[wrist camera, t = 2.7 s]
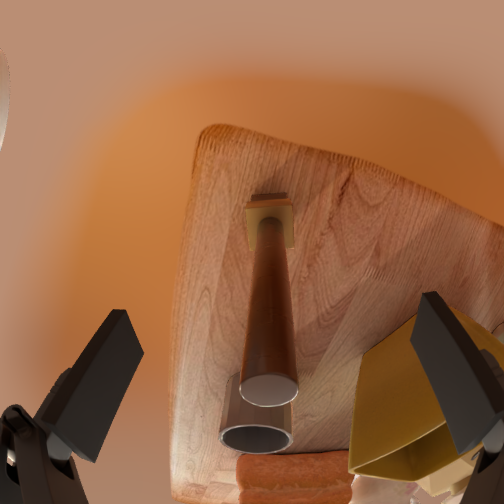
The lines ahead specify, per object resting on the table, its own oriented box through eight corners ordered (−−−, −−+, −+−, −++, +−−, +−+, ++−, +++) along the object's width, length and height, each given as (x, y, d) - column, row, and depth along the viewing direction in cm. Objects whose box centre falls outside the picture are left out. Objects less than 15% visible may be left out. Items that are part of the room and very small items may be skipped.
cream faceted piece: (385, 436, 45) (405, 546, 20) (448, 361, 35) (506, 502, 10) (427, 430, 45) (452, 527, 20) (488, 357, 35) (545, 471, 10)
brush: (253, 229, 28) (224, 417, 9) (249, 193, 26) (204, 356, 8) (290, 226, 27) (319, 415, 9) (288, 190, 26) (327, 351, 8)
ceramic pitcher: (431, 438, 50) (455, 510, 27) (399, 470, 57) (414, 532, 34) (360, 450, 50) (376, 537, 27) (336, 480, 57) (342, 550, 34)
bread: (344, 465, 52) (349, 515, 39) (239, 469, 54) (234, 520, 40) (358, 444, 47) (367, 503, 33) (235, 449, 48) (228, 511, 34)
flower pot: (326, 358, 35) (343, 474, 19) (441, 263, 28) (522, 360, 13) (391, 401, 39) (413, 483, 24) (480, 334, 32) (526, 409, 17)
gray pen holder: (215, 392, 39) (206, 441, 31) (247, 359, 35) (241, 416, 27) (267, 411, 41) (266, 458, 32) (304, 383, 37) (308, 435, 29)
